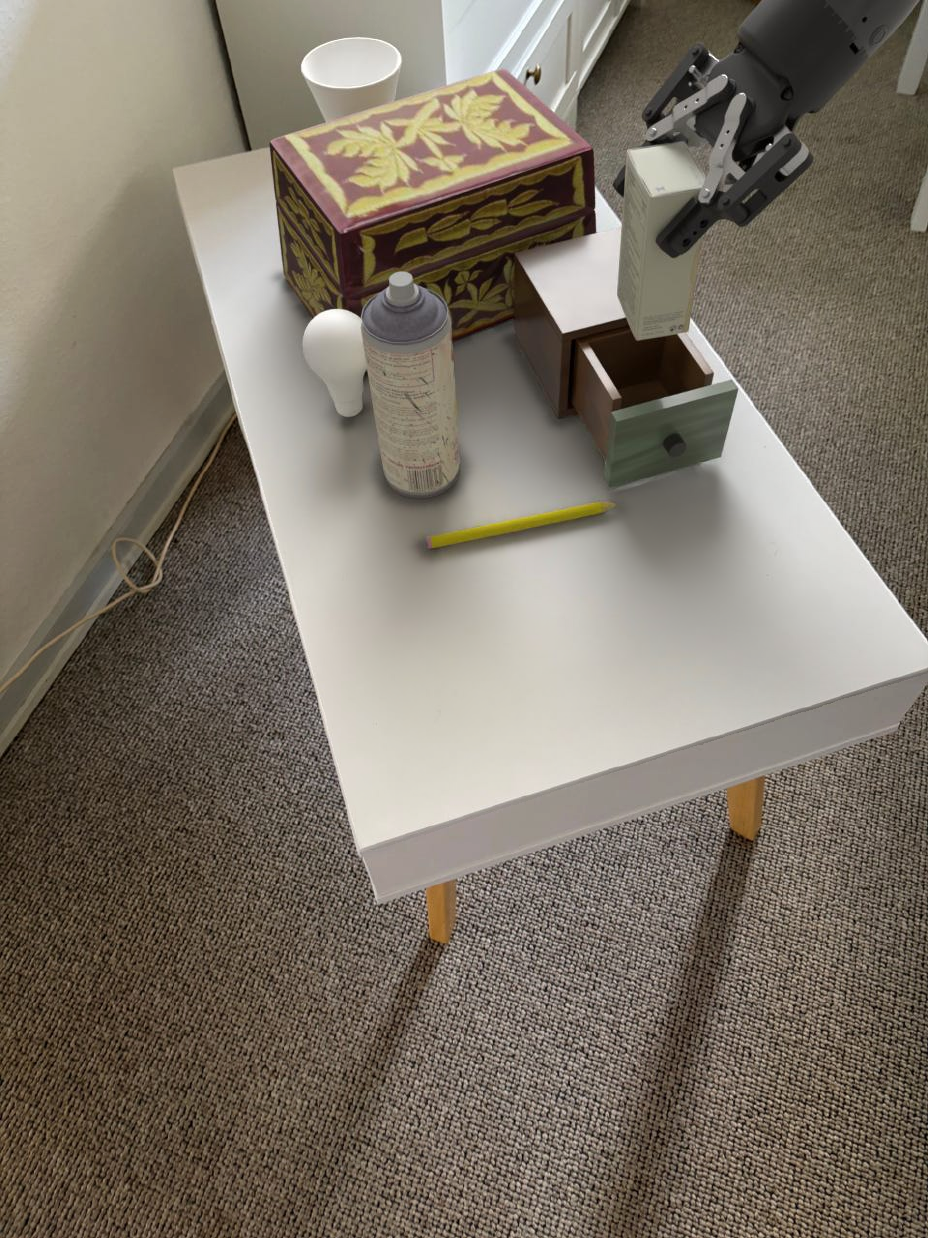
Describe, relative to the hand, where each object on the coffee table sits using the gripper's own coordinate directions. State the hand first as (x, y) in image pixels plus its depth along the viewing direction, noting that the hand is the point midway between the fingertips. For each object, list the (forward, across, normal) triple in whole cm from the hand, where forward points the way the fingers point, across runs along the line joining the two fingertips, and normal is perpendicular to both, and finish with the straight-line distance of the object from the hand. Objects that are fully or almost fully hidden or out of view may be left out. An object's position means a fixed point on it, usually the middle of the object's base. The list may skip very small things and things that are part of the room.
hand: (642, 221), depth 70 cm
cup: (+22, -48, +9) cm, 53 cm away
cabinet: (+14, -10, +17) cm, 24 cm away
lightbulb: (+31, -12, 0) cm, 33 cm away
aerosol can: (+28, -3, +3) cm, 28 cm away
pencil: (+24, +6, +8) cm, 26 cm away
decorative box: (+21, -28, +10) cm, 36 cm away
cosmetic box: (+5, 0, +7) cm, 9 cm away
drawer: (+14, +1, +16) cm, 21 cm away
